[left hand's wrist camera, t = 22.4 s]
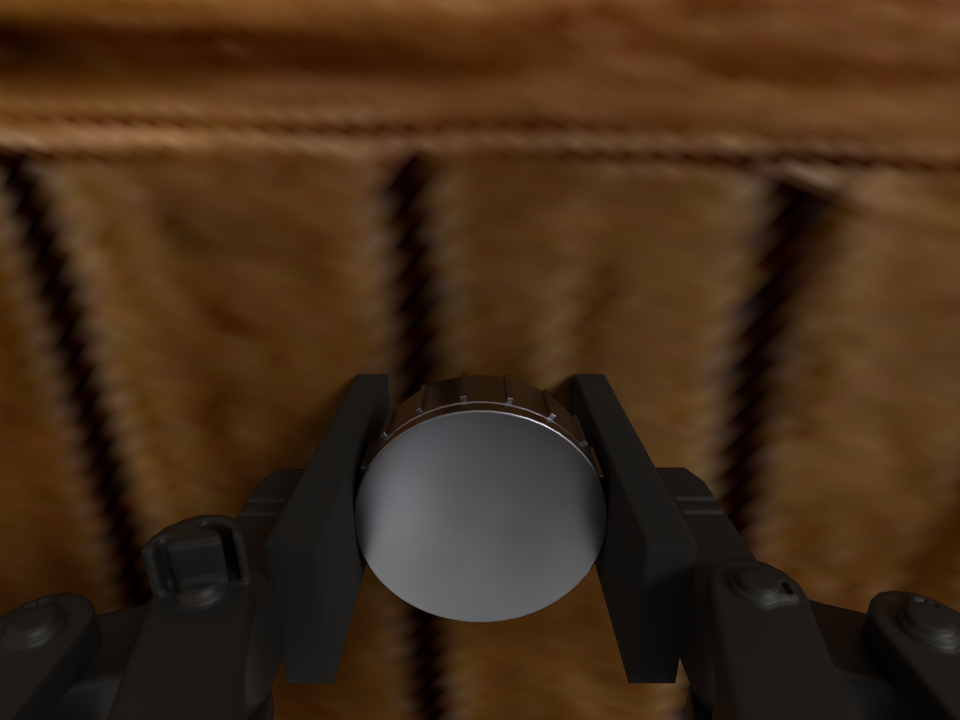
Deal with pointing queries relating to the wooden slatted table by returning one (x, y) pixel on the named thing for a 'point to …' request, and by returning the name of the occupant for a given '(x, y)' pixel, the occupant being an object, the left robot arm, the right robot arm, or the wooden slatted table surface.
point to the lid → (480, 500)
